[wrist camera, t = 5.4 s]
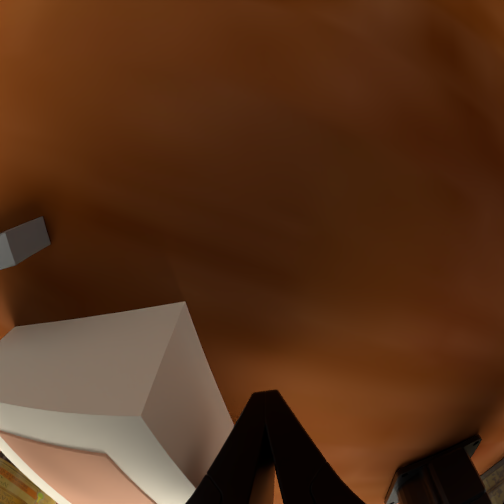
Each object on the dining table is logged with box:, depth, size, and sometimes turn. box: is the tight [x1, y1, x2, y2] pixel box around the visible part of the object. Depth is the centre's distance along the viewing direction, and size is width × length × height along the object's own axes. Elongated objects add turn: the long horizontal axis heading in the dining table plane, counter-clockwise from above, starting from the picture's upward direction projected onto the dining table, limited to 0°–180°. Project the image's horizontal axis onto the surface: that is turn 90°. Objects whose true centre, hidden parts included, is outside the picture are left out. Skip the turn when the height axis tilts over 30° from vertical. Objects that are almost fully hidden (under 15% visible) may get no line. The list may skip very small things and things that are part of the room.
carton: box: [0, 301, 234, 504], centre depth 9 cm, size 9×8×5 cm
